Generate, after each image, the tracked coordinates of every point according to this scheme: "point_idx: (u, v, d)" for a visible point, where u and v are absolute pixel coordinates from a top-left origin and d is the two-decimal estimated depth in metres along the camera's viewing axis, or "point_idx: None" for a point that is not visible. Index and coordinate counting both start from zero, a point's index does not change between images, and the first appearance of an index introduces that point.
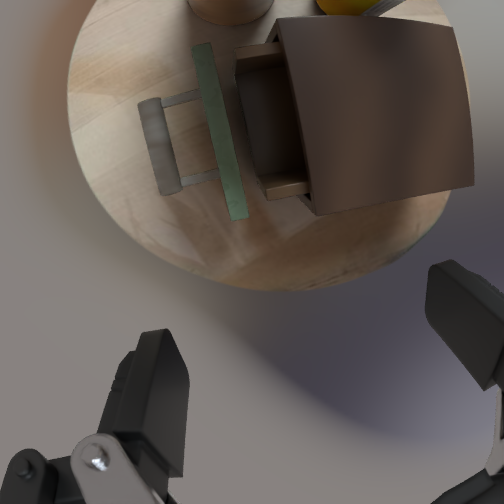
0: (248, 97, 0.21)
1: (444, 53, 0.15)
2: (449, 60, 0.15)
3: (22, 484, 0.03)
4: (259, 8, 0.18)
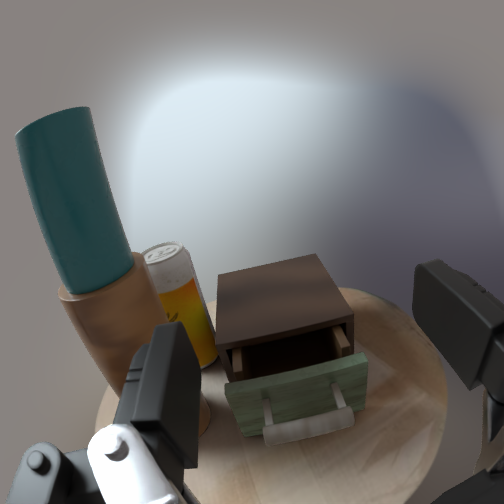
0: None
1: (236, 277, 0.37)
2: (240, 274, 0.37)
3: (35, 479, 0.03)
4: None
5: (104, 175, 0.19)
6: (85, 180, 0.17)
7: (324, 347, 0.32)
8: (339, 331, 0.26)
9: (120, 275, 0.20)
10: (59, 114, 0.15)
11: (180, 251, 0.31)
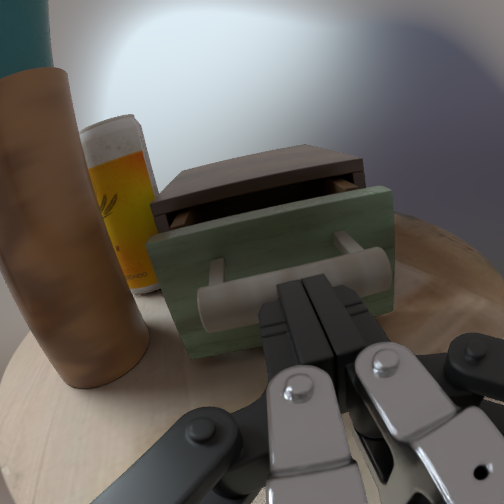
0: None
1: (203, 167, 0.27)
2: (209, 165, 0.28)
3: (190, 450, 0.04)
4: (134, 300, 0.19)
5: None
6: None
7: None
8: (339, 179, 0.17)
9: None
10: None
11: (128, 116, 0.21)
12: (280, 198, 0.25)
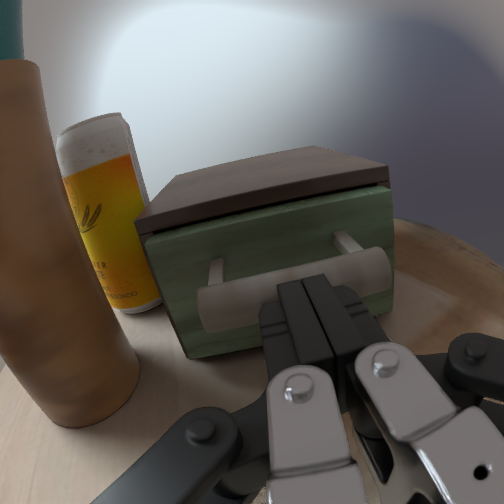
0: None
1: (199, 171, 0.24)
2: (206, 169, 0.25)
3: (191, 450, 0.04)
4: (121, 328, 0.16)
5: None
6: None
7: None
8: None
9: None
10: None
11: (113, 114, 0.18)
12: None
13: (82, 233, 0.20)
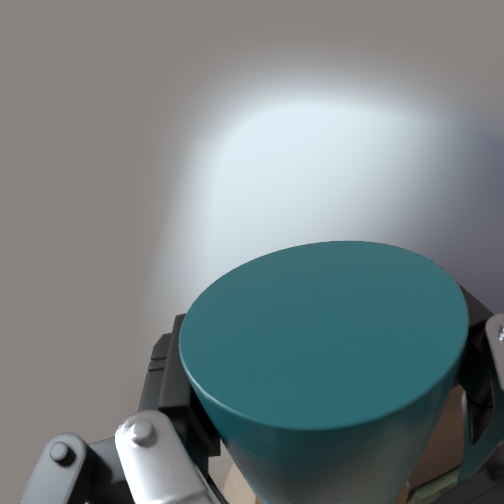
0: None
1: None
2: None
3: (57, 470, 0.04)
4: None
5: None
6: None
7: None
8: None
9: None
10: None
11: None
12: None
13: None
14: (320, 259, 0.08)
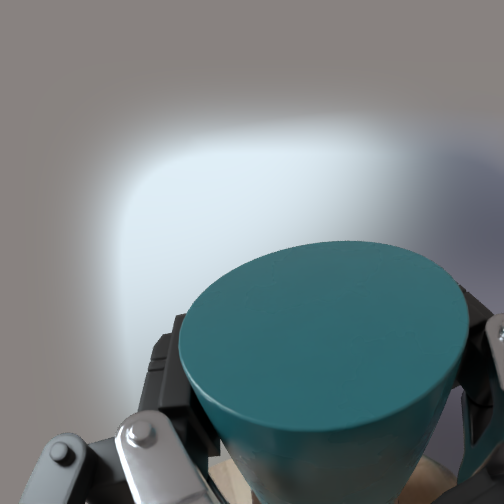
0: None
1: None
2: None
3: (57, 470, 0.04)
4: None
5: None
6: None
7: None
8: None
9: None
10: None
11: None
12: None
13: None
14: (320, 260, 0.08)
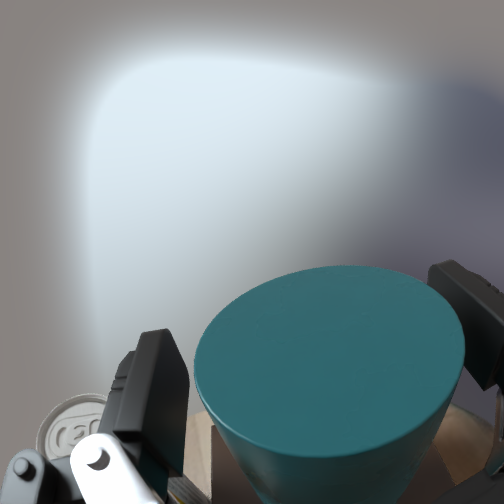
0: None
1: None
2: None
3: (22, 485, 0.03)
4: None
5: None
6: None
7: None
8: None
9: None
10: (459, 377, 0.04)
11: None
12: None
13: None
14: (327, 286, 0.08)
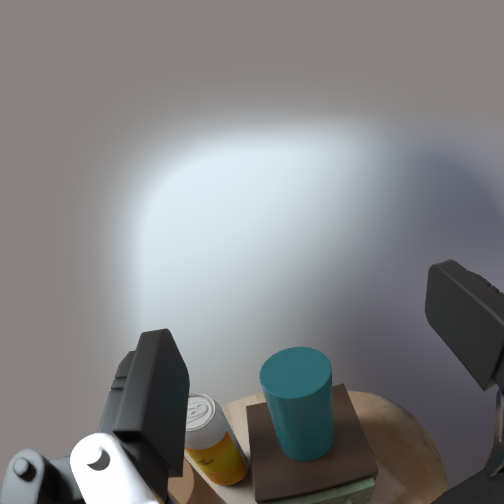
0: (299, 496, 0.27)
1: (266, 412, 0.33)
2: None
3: (22, 485, 0.03)
4: None
5: None
6: (330, 411, 0.24)
7: None
8: None
9: None
10: (325, 385, 0.22)
11: (214, 415, 0.27)
12: None
13: (195, 462, 0.29)
14: (296, 355, 0.26)
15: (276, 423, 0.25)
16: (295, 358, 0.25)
